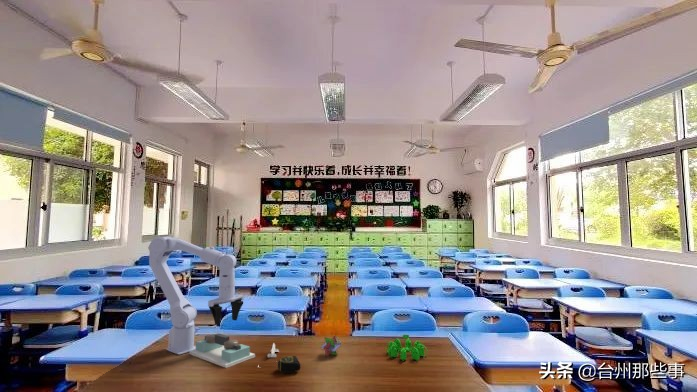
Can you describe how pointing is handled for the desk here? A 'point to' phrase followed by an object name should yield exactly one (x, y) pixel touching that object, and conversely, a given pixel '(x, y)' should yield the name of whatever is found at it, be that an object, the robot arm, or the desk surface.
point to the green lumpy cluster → (406, 349)
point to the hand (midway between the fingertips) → (226, 322)
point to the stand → (221, 353)
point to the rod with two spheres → (223, 341)
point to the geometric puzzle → (331, 345)
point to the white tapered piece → (273, 351)
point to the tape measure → (288, 364)
